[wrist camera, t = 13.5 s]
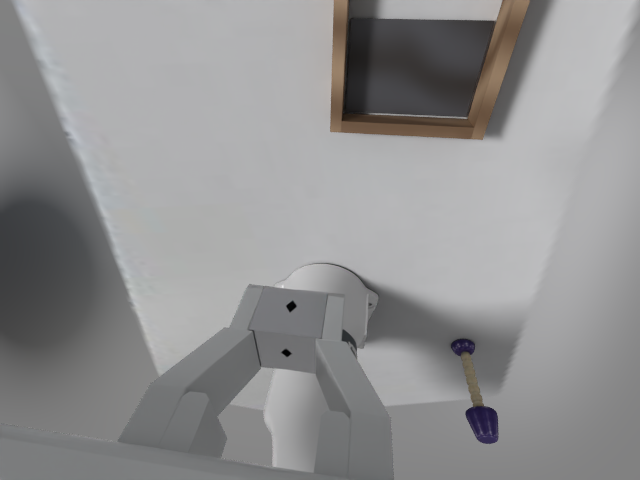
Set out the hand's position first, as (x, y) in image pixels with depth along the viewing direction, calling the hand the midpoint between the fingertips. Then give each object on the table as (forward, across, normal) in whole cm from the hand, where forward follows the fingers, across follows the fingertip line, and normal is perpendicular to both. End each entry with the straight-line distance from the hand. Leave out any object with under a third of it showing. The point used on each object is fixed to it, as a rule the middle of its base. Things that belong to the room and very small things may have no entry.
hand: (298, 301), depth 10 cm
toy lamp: (+31, -25, +45) cm, 60 cm away
